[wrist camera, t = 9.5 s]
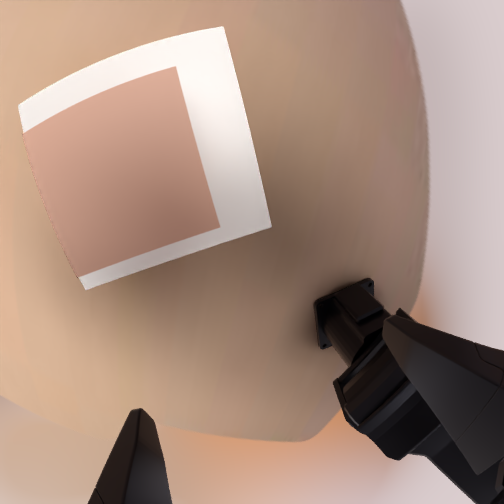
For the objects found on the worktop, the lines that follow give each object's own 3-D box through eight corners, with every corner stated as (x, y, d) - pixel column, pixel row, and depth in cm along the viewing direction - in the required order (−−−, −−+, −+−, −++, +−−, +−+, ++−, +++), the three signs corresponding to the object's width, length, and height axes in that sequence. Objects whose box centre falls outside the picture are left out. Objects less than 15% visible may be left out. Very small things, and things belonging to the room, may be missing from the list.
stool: (175, 93, 14) (176, 66, 8) (202, 191, 17) (220, 227, 11) (76, 131, 13) (22, 134, 7) (108, 224, 16) (77, 277, 10)
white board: (265, 220, 21) (271, 227, 19) (90, 279, 19) (85, 290, 17) (219, 33, 14) (223, 26, 13) (27, 106, 12) (18, 105, 11)
